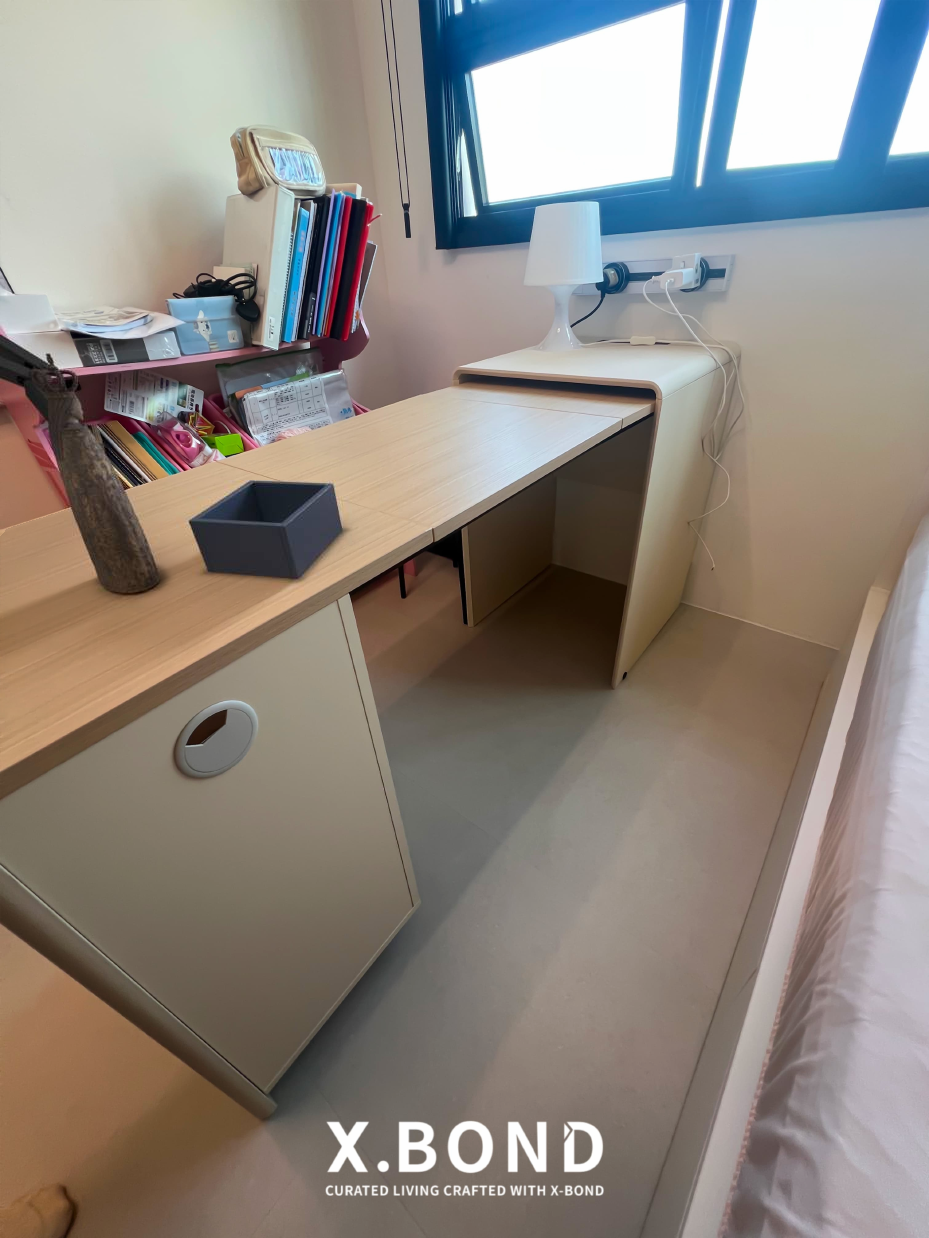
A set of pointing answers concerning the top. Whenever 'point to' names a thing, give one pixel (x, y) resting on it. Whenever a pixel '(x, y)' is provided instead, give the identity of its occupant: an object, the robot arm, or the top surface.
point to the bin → (268, 528)
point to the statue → (96, 492)
